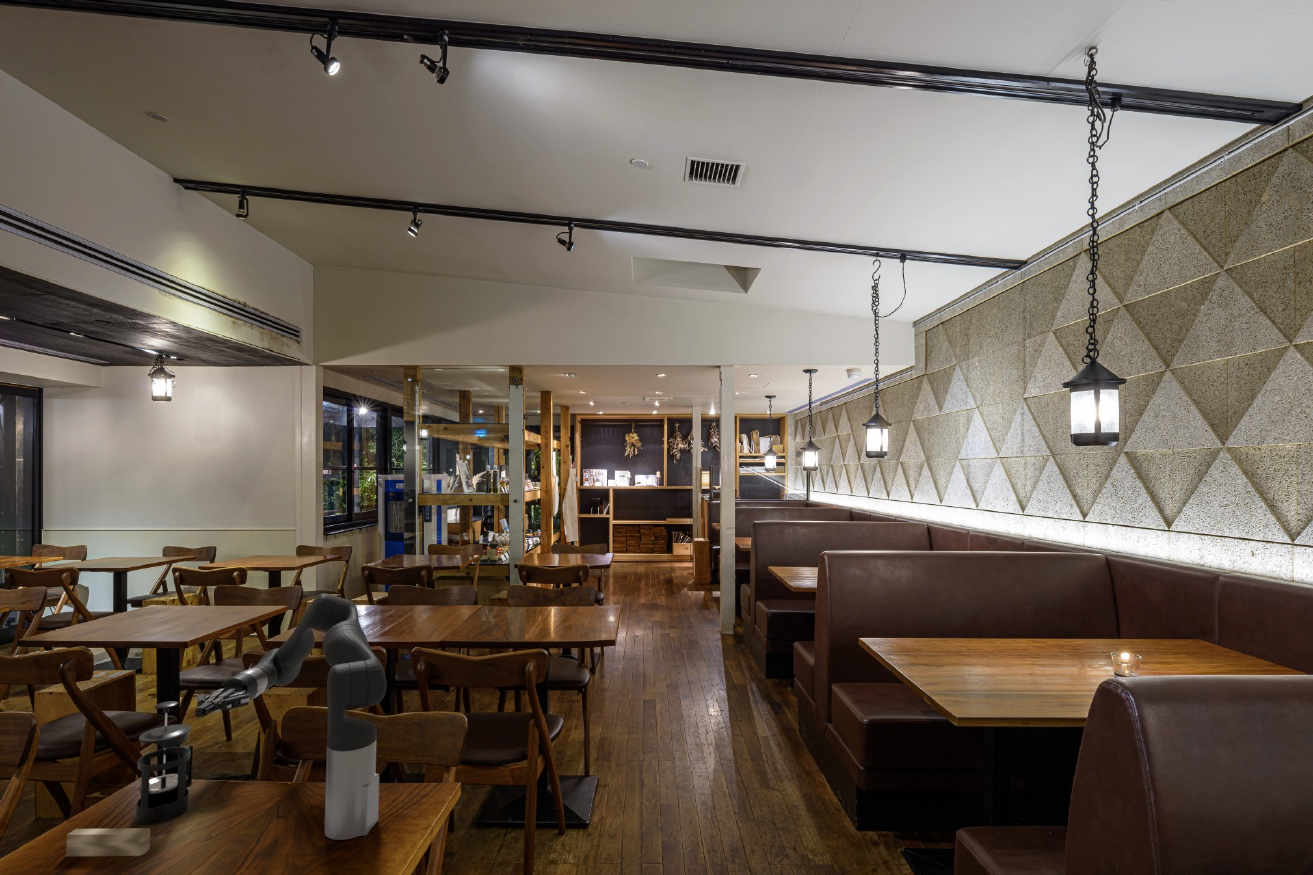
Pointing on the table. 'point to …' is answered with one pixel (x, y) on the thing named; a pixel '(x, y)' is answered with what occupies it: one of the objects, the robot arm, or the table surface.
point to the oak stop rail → (108, 842)
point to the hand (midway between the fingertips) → (199, 713)
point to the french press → (165, 786)
